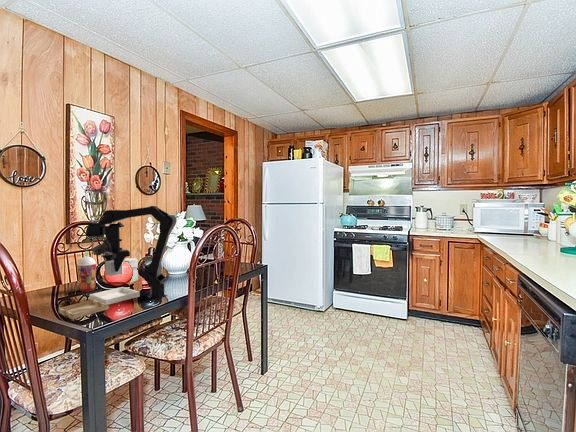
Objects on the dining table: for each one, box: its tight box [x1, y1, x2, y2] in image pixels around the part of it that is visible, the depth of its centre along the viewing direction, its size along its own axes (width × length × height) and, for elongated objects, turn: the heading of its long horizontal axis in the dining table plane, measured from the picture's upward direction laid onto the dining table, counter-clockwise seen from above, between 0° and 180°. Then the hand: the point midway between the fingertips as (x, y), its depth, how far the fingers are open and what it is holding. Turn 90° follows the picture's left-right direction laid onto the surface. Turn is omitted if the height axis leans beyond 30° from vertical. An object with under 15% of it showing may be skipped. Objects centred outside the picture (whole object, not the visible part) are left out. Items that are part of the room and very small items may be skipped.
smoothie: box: [76, 250, 97, 293], centre depth 160 cm, size 8×8×20 cm
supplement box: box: [123, 257, 139, 284], centre depth 177 cm, size 7×7×13 cm
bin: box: [88, 286, 140, 306], centre depth 147 cm, size 15×15×2 cm
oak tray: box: [58, 299, 110, 321], centre depth 130 cm, size 13×13×2 cm
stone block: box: [104, 260, 122, 277], centre depth 146 cm, size 5×5×6 cm
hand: (113, 270), depth 146 cm, fingers closed on stone block, 5 cm apart
